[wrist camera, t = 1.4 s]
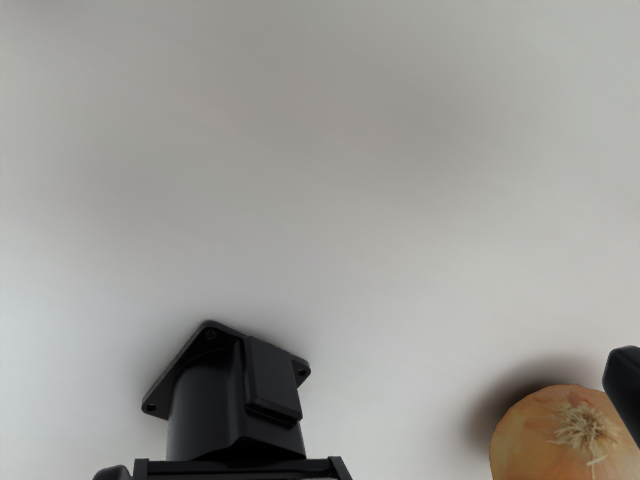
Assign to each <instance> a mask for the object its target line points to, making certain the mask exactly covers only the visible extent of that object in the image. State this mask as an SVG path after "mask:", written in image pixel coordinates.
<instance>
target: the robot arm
mask: <svg viewBox="0 0 640 480" xmlns="http://www.w3.org/2000/svg"><path fill="white" fill-rule="evenodd" d="M210 330H212V331H214V332H213V333H207V331H210ZM300 369H303V370H301V371H298V370H300ZM310 373H311V369H310V365H309V363H308V362H307V361H305V360H303V359H300V358H298V357H296V356H293V355H291V354H289V352H287V351H284V350H282V349H280V348H277V347H275V346H273V345H270V344H268V343H266V342H264V341H261V340H259V339H257V338H254V337H252V336H247V335H245V334H243V333H240V332H238V331H236V330H234V329H231V328H229V327H227V326H224V325H222V324H220V323H217V322H214V321H207V322H205V323H203V324H202V325H201V326H200V327H199V329H198V330H197V331H196V332H195V334H194V335H193V336H192V337H191V339H190V340H189V341H188V343H187V344H186V345H185V346H184V348H183V349H182V350H181V351H180V353H179V354H178V355H177V356H176V358H175V359H174V360H173V362H172V363H171V364H170V365H169V367H168V368H167V369H166V370H165V372H164V373H163V374H162V375H161V377H160V378H159V379H158V381H157V382H156V383H155V384H154V386H153V387H152V388H151V389H150V391H149V392H148V393H147V394H146V396H145V397H144V398H143V400H142V406H141V409H142V411H143V412H144V413H146V414H149V415H152V416H155V417H158V418H161V419H164V420H168V436H167V452H166V461H149V459H135V462H134V471H133V476H130V474H129V472H128V470H127V468H126V467H125V466H124V465H117V466H113V467H109V468H104V469H102V470H100V471H98V472H97V473H96V475H95V476H94V478H93V479H92V480H353V479H352V478H351V476H350V474H349V472H348V470H347V468H346V466H345V464H344V462H343V460H342V458H341V457H340V456H329V457H328V458H327V459H307V458H306V453H305V448H304V443H303V438H302V433H301V428H300V423H299V422H300V421H301V419H302V418H303V415H302V410H301V405H300V400H299V396H298V391H297V388H298V387H299V386H300V385H301V384H302V383H303V382H304V381H305V379H306V378H307V377H308V376H309V375H310ZM602 384H603V388H604V391H605V393H606V394H607V396H608V398H609V399H610V401H611V403H612V405H613V406H614V408H615V410H616V411H617V413H618V415H619V416H620V418H621V420H622V421H623V423H624V425H625V426H626V428H627V430H628V431H629V433H630V435H631V437H632V438H633V440H634V442H635V443H636V445H637V447H638V448H639V450H640V348H639V347H636V346H625V347H621V348H616V349H613V350H612V351H611V352H610V353H609V356H608V359H607V363H606V366H605V370H604V374H603V377H602ZM150 404H154V405H150Z"/></svg>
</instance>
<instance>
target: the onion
mask: <svg viewBox="0 0 640 480" xmlns="http://www.w3.org/2000/svg"><path fill="white" fill-rule="evenodd" d="M489 460H490V467H491V472H492V477H493V480H640V450H639V448H638V447H637V445H636V443H635V442H634V440H633V438H632V437H631V435H630V433H629V431H628V430H627V428H626V426H625V425H624V423H623V421H622V420H621V418H620V416H619V415H618V413H617V411H616V410H615V408H614V406H613V405H612V403H611V401H610V399H609V398H608V396H607V394H606V393H605V392H601V391H598V390H594V389H589V388H585V387H582V386H580V385H577V384H567V385H564V384H557V385H552V386H548V387H544V388H542V389H541V390H539V391H537V392H534V393H532V394H529V395H528V396H526V397H524V398H523V399H521V400H520V401H519V402H517V403H516V404H514V405H513V406H511V407H510V408H509V409H508V410H507V412H506V413H505V415H504V416H503V418H502V419H501V420H500V421H499V422H498V424H497V426H496V428H495V431H494V433H493V436H492V439H491V442H490V447H489Z"/></svg>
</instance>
